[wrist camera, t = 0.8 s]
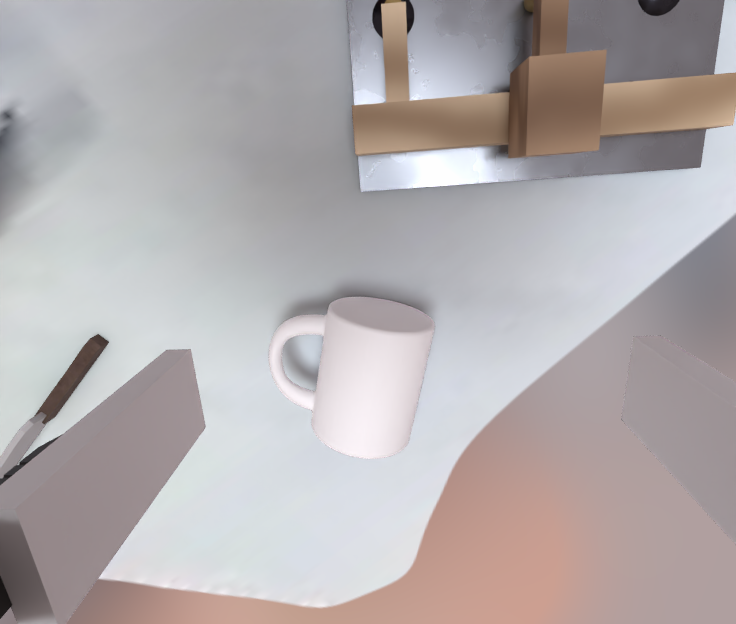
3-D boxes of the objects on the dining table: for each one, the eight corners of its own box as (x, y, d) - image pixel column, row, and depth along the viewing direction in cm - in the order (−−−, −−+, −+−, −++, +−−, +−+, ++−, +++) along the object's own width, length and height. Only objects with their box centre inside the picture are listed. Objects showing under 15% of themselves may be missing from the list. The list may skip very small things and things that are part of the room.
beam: (347, 11, 29) (343, -4, 27) (728, -28, 27) (760, -47, 25) (358, 156, 32) (355, 154, 29) (705, 129, 30) (733, 125, 28)
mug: (430, 306, 36) (441, 341, 29) (407, 411, 39) (411, 468, 32) (287, 281, 36) (259, 309, 29) (275, 388, 39) (247, 440, 32)
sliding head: (501, -7, 28) (533, -58, 22) (566, -13, 28) (615, -67, 22) (499, 159, 31) (526, 155, 25) (557, 155, 31) (599, 150, 25)
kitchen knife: (73, 347, 35) (-83, 565, 42) (84, 355, 35) (-72, 572, 42) (105, 330, 39) (-41, 532, 46) (115, 338, 40) (-32, 538, 46)
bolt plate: (343, -60, 29) (341, -70, 28) (726, -103, 27) (741, -115, 26) (361, 191, 34) (360, 191, 32) (689, 167, 32) (700, 167, 31)
